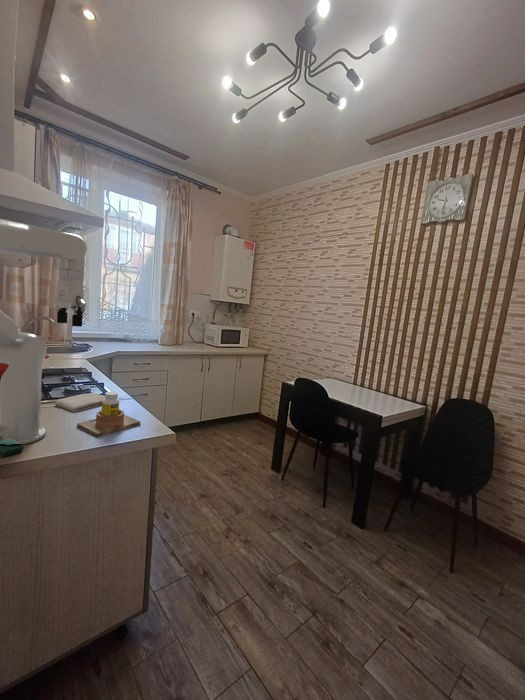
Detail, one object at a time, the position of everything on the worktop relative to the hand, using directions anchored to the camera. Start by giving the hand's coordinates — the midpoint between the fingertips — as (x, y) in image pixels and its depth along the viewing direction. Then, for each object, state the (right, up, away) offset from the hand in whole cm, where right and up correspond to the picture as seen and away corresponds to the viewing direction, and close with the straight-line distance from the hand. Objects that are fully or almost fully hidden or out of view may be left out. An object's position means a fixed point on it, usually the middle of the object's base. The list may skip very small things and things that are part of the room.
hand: (69, 324), depth 108 cm
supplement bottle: (+15, -34, -1) cm, 37 cm away
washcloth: (-4, -32, +17) cm, 36 cm away
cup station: (+15, -36, -1) cm, 39 cm away
